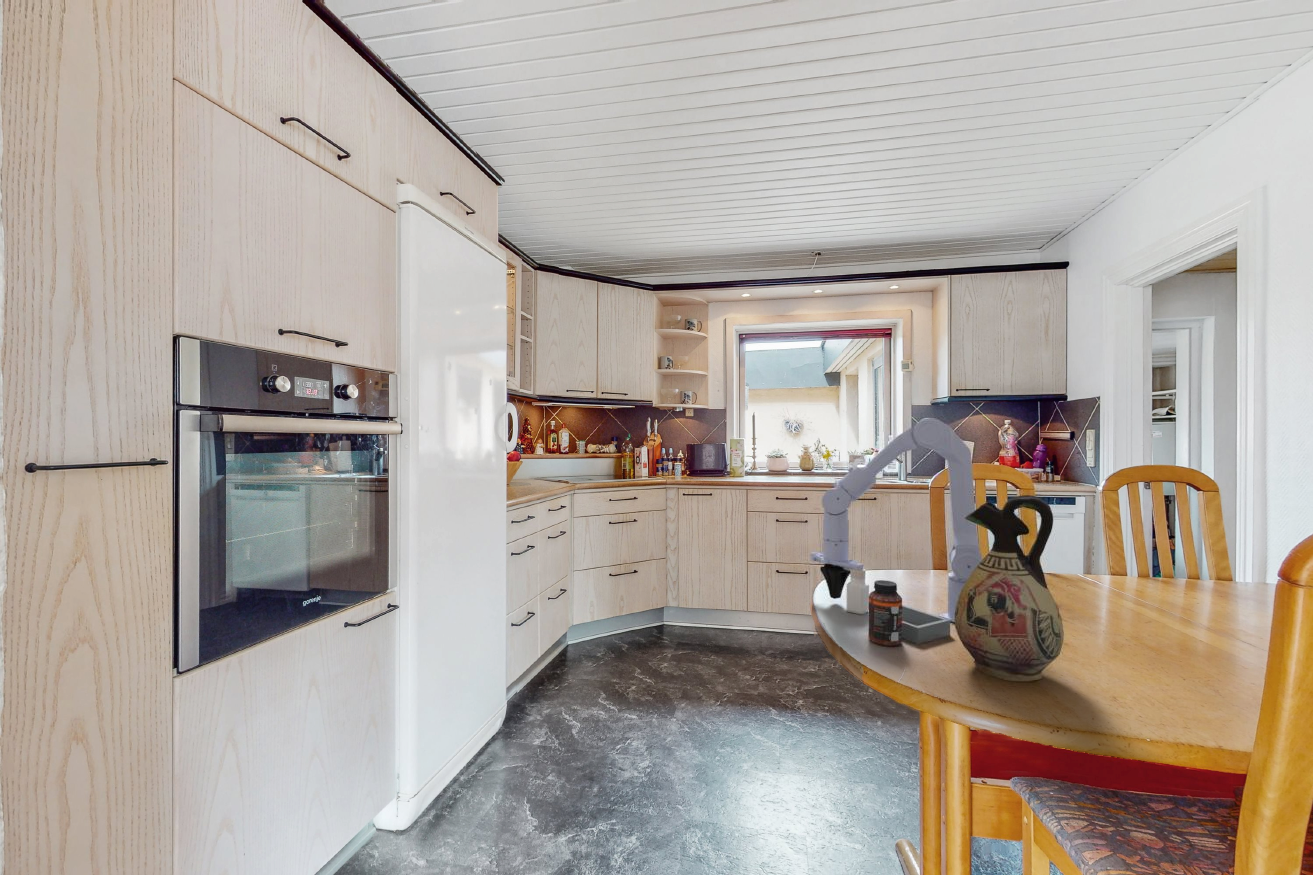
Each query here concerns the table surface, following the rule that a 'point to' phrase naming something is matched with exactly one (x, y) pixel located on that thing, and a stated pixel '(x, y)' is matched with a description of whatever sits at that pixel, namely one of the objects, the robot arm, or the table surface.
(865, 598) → the pepper shaker
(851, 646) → the table surface
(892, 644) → the supplement bottle
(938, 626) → the box
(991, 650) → the ceramic jug
